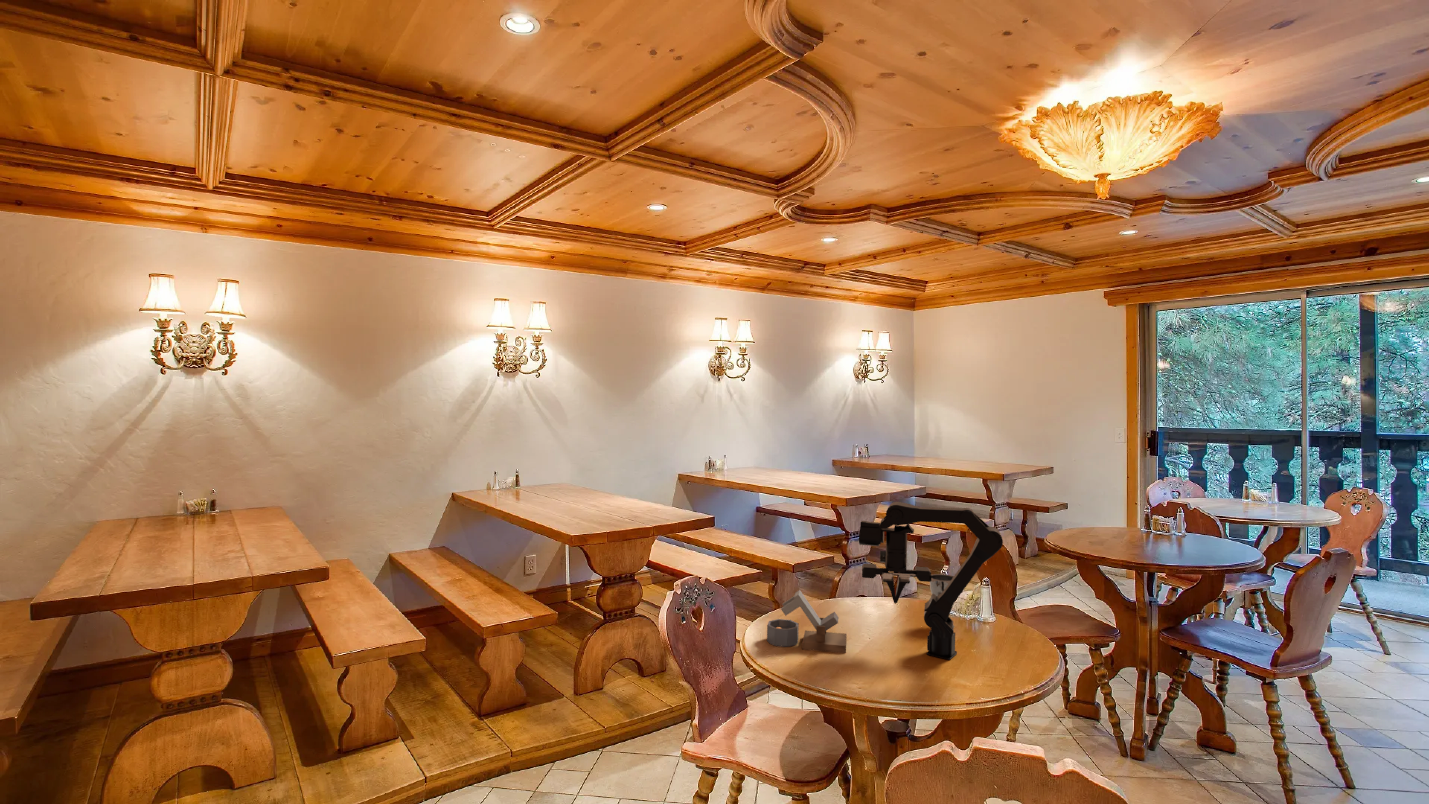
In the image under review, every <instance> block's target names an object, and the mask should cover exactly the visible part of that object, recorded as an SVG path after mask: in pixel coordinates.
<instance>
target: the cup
mask: <svg viewBox="0 0 1429 804" xmlns="http://www.w3.org/2000/svg"><path fill="white" fill-rule="evenodd" d="M799 625H800V624H799V623H798V622H796V621H794V620H792V619H784V618H783V619H782V618H777V619H772V620H768V622H767V625H766V627H767V628H766V641H767V642H768V644H770V645H772V646H775V647H779V648H787V647H790V648H791V647H794V646H796V645H797V644H799V627H800V626H799ZM776 627H780V628H776ZM781 628H782V629H781Z"/></svg>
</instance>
